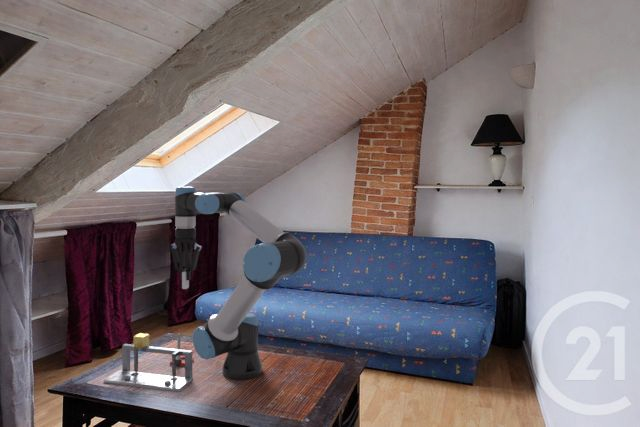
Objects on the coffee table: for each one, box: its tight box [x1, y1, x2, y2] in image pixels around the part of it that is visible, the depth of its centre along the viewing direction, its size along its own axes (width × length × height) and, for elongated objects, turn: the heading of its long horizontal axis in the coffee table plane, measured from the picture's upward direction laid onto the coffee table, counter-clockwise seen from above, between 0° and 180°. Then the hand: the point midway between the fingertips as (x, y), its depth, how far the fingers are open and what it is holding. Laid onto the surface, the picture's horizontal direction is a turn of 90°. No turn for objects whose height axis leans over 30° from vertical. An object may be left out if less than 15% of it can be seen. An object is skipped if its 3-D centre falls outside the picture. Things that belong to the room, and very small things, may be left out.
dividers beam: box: [121, 343, 193, 379], centre depth 175 cm, size 28×5×10 cm, turn 78°
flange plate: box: [103, 369, 193, 393], centre depth 170 cm, size 30×9×2 cm, turn 78°
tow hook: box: [169, 333, 195, 367], centre depth 189 cm, size 8×13×9 cm
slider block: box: [133, 332, 150, 374], centre depth 176 cm, size 4×6×13 cm, turn 168°
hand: (185, 288), depth 179 cm, fingers closed
